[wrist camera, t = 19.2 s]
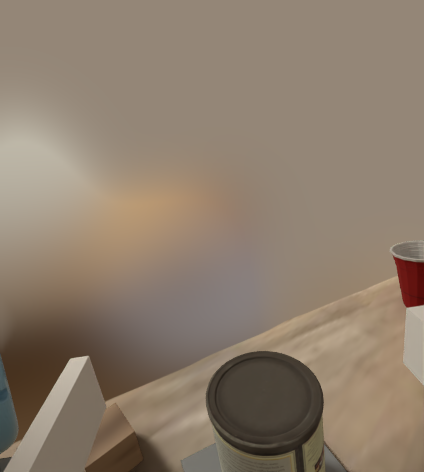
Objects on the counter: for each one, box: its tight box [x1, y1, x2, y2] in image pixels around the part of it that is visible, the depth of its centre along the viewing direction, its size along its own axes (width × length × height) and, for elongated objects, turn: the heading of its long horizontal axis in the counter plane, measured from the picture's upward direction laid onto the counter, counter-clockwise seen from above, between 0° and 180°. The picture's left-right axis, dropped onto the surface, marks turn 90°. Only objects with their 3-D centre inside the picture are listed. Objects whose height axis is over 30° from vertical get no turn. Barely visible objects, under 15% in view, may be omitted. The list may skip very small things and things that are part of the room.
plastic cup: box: [390, 240, 424, 308], centre depth 57 cm, size 11×11×12 cm
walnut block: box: [85, 403, 143, 472], centre depth 38 cm, size 6×6×5 cm
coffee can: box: [206, 351, 325, 472], centre depth 29 cm, size 10×10×14 cm
